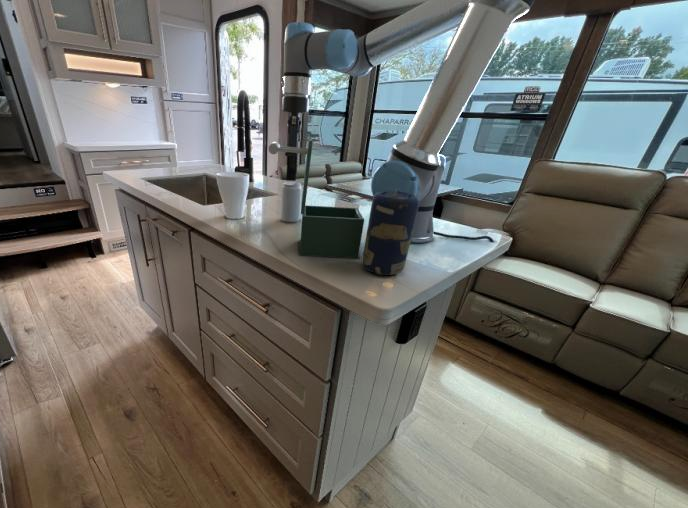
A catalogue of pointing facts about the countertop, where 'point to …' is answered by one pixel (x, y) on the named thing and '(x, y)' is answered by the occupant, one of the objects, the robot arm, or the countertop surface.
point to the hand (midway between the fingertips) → (291, 176)
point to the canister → (389, 231)
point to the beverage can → (291, 202)
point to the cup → (233, 192)
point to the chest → (331, 231)
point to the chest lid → (276, 147)
